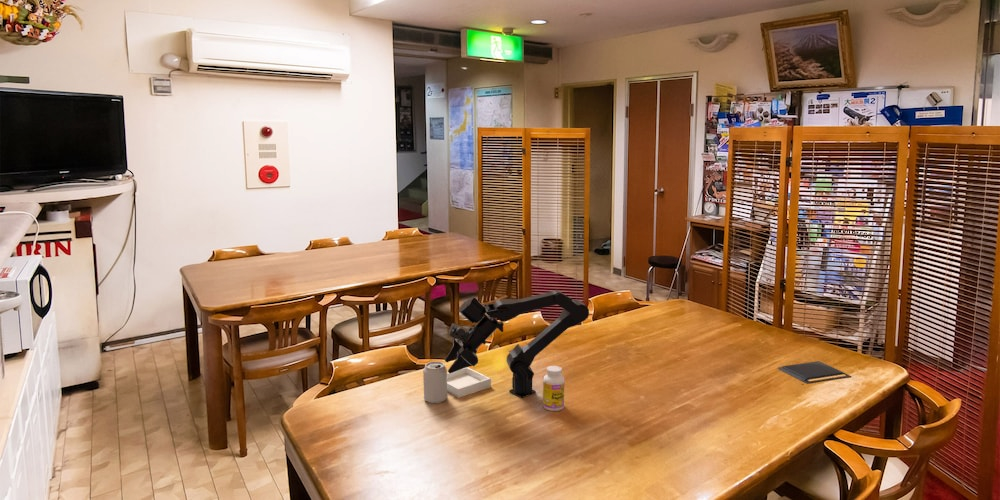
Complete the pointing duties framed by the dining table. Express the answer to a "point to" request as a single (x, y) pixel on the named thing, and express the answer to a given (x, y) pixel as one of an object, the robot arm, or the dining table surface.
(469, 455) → the dining table surface
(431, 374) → the can
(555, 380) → the supplement bottle
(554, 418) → the dining table surface
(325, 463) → the dining table surface
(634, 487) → the dining table surface
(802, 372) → the dark grey book
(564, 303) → the robot arm
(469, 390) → the tray
